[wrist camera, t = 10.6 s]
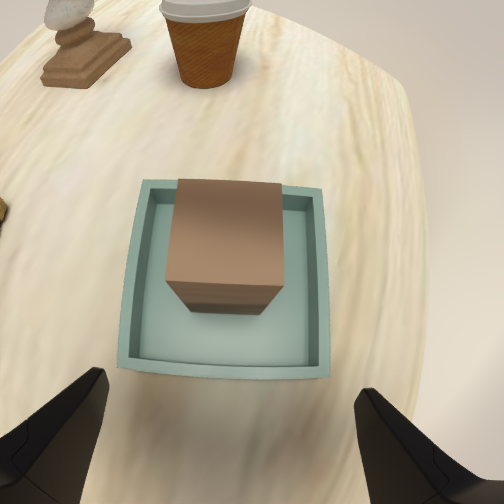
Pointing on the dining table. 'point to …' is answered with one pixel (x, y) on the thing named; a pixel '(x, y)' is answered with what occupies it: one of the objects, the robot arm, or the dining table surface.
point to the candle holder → (79, 46)
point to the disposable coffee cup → (205, 38)
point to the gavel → (2, 209)
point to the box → (227, 325)
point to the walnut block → (226, 246)
